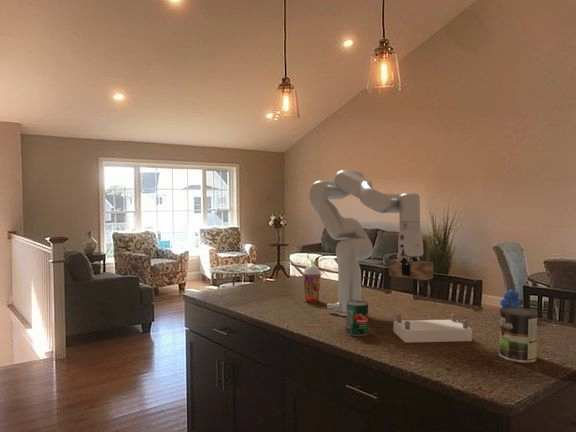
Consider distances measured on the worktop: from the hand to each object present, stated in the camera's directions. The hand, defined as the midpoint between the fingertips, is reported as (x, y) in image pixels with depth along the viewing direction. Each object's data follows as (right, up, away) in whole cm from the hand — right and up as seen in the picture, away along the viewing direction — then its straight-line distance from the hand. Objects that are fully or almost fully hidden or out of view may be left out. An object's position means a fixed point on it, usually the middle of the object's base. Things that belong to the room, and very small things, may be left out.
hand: (410, 274), depth 173 cm
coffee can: (+24, -21, -33) cm, 46 cm away
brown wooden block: (0, -1, 0) cm, 1 cm away
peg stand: (+4, -20, -11) cm, 24 cm away
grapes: (+43, -20, +13) cm, 49 cm away
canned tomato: (-21, -20, -7) cm, 30 cm away
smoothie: (-35, -19, +46) cm, 61 cm away
